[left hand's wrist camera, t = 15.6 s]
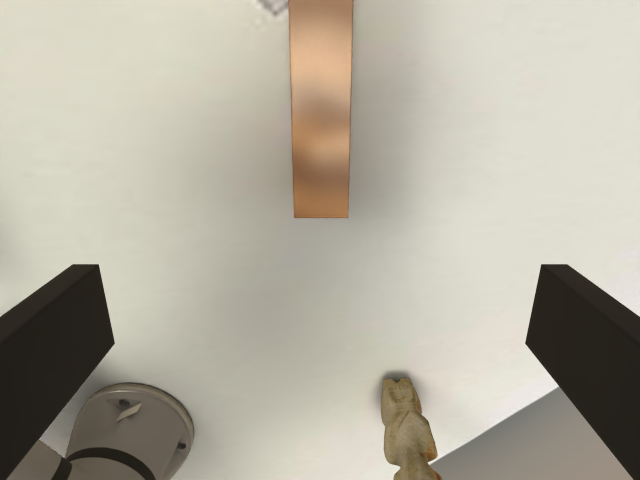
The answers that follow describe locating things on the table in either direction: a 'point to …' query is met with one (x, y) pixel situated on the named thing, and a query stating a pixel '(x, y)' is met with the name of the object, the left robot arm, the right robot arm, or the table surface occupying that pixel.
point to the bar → (321, 105)
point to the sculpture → (407, 432)
